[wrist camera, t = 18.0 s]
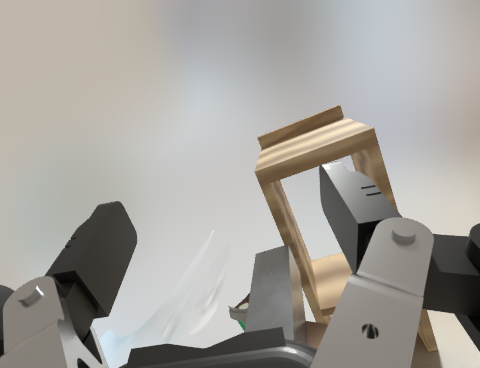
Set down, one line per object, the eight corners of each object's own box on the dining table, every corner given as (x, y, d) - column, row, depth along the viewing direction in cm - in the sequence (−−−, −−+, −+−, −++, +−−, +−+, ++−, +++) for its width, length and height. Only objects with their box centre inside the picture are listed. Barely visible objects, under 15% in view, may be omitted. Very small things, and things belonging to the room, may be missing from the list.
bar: (334, 576, 12) (304, 520, 11) (250, 577, 13) (215, 525, 12) (300, 273, 33) (288, 244, 32) (268, 281, 34) (255, 253, 33)
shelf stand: (438, 350, 38) (368, 110, 30) (335, 368, 41) (248, 156, 33) (393, 277, 53) (338, 104, 45) (320, 295, 56) (257, 136, 49)
